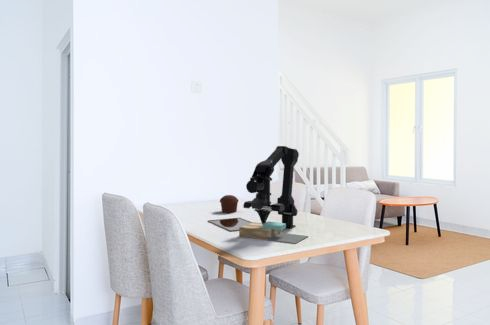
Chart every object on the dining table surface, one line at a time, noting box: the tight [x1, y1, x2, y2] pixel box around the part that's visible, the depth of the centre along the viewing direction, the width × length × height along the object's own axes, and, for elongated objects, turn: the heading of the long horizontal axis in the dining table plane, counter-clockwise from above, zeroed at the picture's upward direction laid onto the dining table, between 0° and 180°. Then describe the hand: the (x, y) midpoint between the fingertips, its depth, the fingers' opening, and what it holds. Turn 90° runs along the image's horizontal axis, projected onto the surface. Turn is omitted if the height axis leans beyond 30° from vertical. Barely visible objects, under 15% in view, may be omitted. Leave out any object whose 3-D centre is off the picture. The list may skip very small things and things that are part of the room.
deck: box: [238, 221, 281, 241], centre depth 196 cm, size 14×14×4 cm
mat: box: [266, 232, 309, 245], centre depth 189 cm, size 15×13×1 cm
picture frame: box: [207, 217, 253, 233], centre depth 220 cm, size 19×1×28 cm
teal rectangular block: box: [262, 221, 287, 231], centre depth 192 cm, size 6×9×2 cm, turn 62°
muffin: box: [219, 194, 239, 214], centre depth 258 cm, size 12×11×10 cm
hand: (263, 224), depth 195 cm, fingers closed
